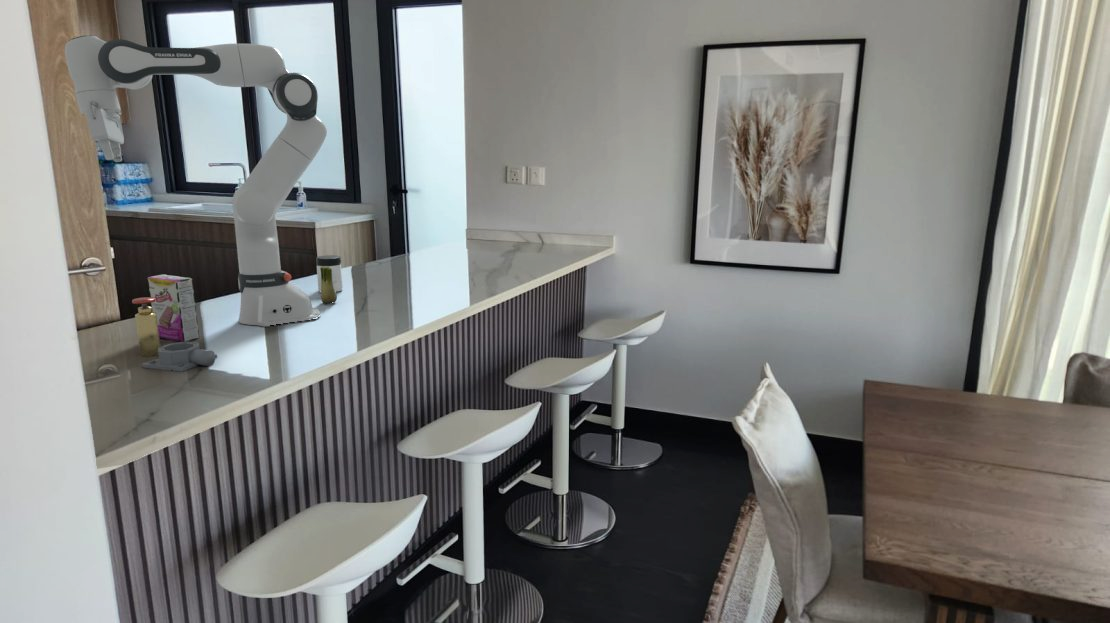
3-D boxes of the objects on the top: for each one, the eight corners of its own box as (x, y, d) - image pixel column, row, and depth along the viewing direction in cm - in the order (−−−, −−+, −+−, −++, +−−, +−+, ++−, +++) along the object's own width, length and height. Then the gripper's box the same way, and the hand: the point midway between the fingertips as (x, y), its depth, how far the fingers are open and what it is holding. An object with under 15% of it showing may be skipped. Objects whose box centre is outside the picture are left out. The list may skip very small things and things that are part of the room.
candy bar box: (154, 337, 182) (146, 277, 178) (171, 333, 186) (163, 273, 182) (183, 343, 177) (176, 280, 173) (200, 338, 182) (193, 277, 178)
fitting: (142, 367, 158) (140, 351, 157) (179, 353, 168) (177, 338, 167) (192, 372, 154) (190, 356, 153) (227, 358, 164) (225, 343, 163)
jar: (324, 294, 236) (321, 259, 233) (313, 290, 241) (310, 257, 238) (348, 290, 242) (345, 257, 239) (337, 287, 247) (334, 254, 245)
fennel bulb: (321, 301, 224) (318, 265, 222) (336, 300, 226) (334, 264, 223) (321, 305, 219) (319, 268, 216) (337, 304, 221) (335, 267, 218)
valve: (163, 349, 171) (155, 296, 168) (161, 354, 167) (154, 300, 164) (140, 352, 169) (133, 298, 166) (138, 357, 165) (130, 302, 162)
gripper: (103, 98, 164) (119, 156, 167) (121, 108, 183) (135, 161, 186) (73, 100, 162) (90, 160, 165) (94, 111, 181) (109, 164, 184)
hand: (114, 160), depth 176 cm, fingers open, 8 cm apart
